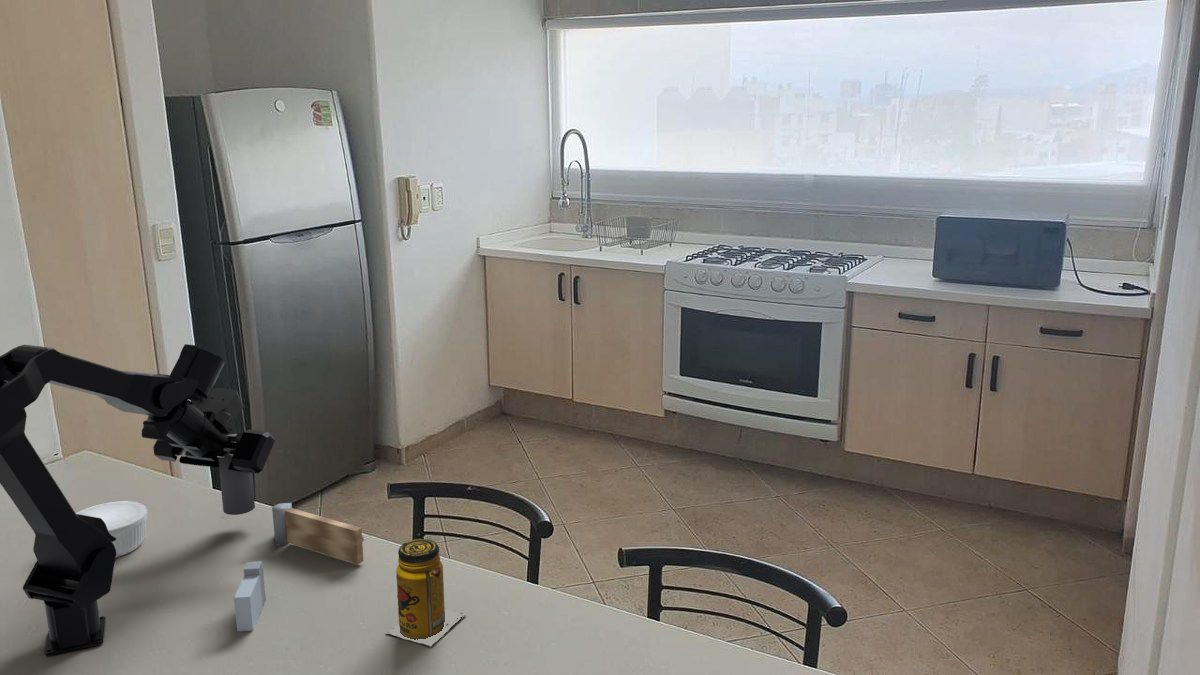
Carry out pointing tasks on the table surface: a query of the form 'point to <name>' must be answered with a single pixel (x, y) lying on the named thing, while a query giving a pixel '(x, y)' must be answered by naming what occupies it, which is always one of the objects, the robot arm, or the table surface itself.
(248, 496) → the gray cylinder
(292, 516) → the door
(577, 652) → the table surface
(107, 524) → the ramekin
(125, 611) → the table surface
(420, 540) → the condiment
